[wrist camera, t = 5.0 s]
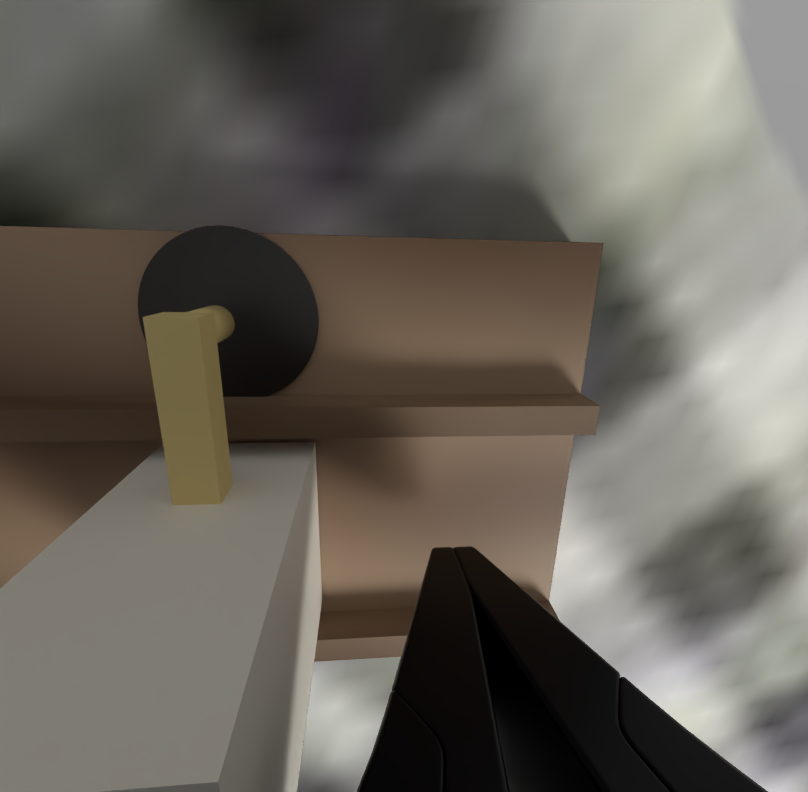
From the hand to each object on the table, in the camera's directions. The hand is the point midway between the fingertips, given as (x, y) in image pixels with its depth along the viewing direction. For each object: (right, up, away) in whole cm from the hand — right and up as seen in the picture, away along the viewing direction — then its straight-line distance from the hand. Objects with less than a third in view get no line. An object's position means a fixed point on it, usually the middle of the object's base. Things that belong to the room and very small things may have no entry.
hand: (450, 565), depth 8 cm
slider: (-4, +2, +1) cm, 5 cm away
